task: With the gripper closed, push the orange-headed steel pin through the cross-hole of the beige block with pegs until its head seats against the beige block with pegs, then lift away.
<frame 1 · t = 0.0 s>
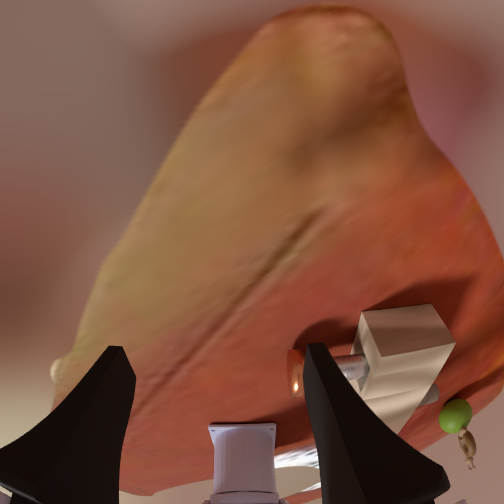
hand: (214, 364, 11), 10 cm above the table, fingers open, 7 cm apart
beige block with pegs: (376, 367, 28), on the table
snail figurine: (448, 402, 35), on the table
lynch pin: (365, 365, 24), point 2 cm above the table, slide at 0.0 cm
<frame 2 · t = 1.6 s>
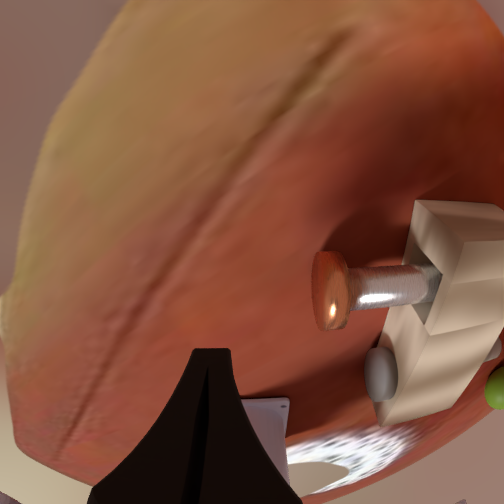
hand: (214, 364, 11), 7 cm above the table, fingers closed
beige block with pegs: (429, 304, 20), on the table
snail figurine: (493, 373, 27), on the table
lynch pin: (427, 282, 15), point 2 cm above the table, slide at 0.0 cm
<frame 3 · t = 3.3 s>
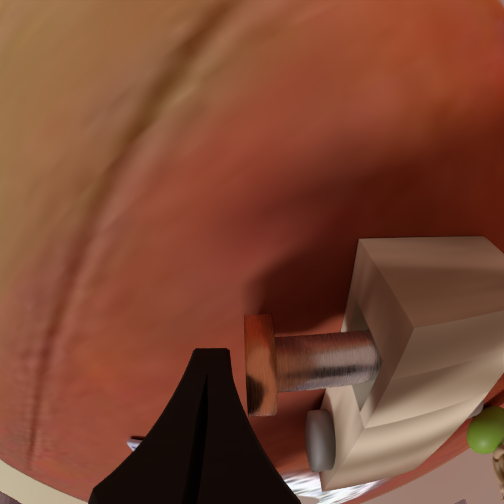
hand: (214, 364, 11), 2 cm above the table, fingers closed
beige block with pegs: (388, 361, 16), on the table
snail figurine: (479, 412, 23), on the table
lynch pin: (401, 350, 11), point 2 cm above the table, slide at 1.5 cm, touching gripper
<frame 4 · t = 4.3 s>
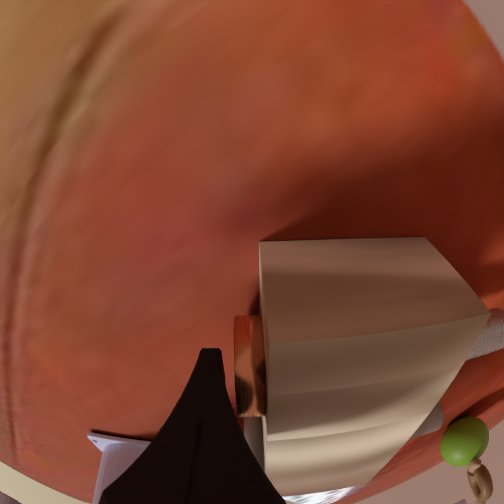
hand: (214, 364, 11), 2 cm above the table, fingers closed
beige block with pegs: (325, 370, 16), on the table
snail figurine: (455, 421, 23), on the table
lynch pin: (394, 351, 11), point 2 cm above the table, slide at 5.0 cm, touching beige block with pegs, gripper
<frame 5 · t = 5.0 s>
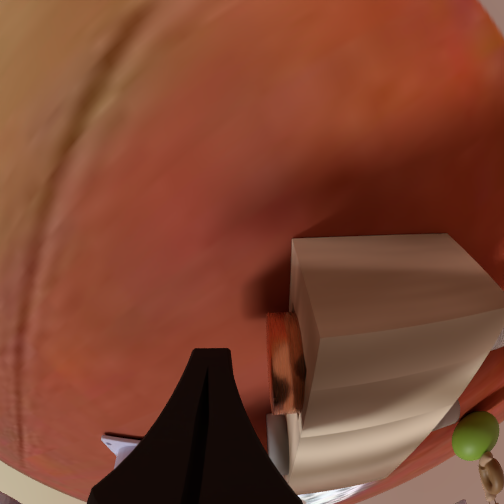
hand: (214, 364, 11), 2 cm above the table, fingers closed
beige block with pegs: (348, 366, 15), on the table
snail figurine: (466, 416, 23), on the table
lynch pin: (420, 345, 11), point 3 cm above the table, slide at 5.0 cm, touching beige block with pegs
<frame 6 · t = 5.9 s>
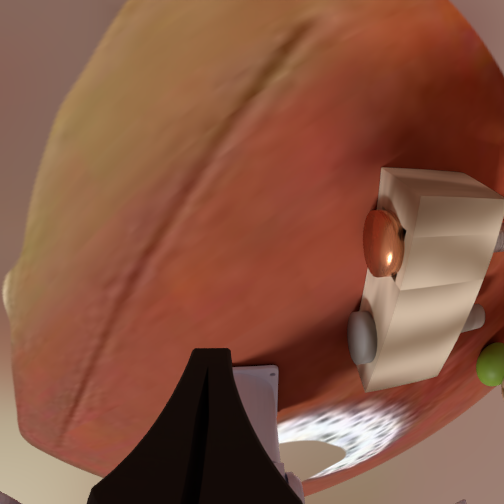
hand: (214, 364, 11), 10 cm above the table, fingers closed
beige block with pegs: (406, 270, 22), on the table
snail figurine: (485, 350, 29), on the table
lynch pin: (456, 239, 17), point 2 cm above the table, slide at 5.0 cm, touching beige block with pegs
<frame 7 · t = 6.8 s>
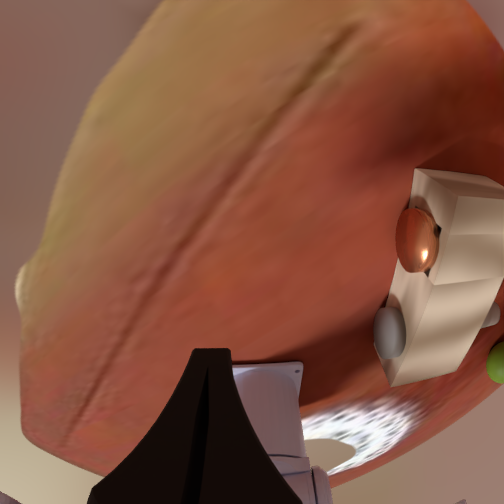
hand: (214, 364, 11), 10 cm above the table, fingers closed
beige block with pegs: (431, 268, 22), on the table
snail figurine: (494, 348, 29), on the table
lynch pin: (480, 238, 17), point 2 cm above the table, slide at 5.0 cm, touching beige block with pegs
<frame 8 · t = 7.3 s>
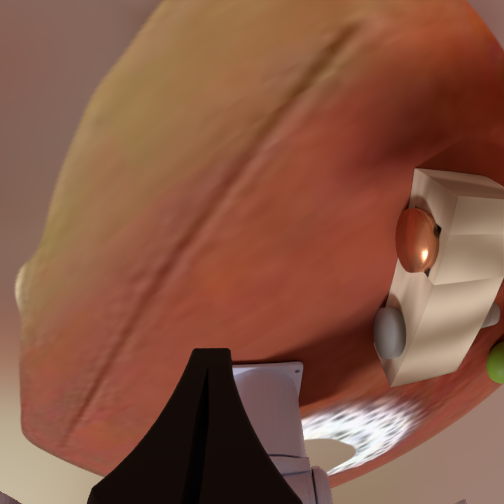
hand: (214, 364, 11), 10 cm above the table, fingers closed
beige block with pegs: (431, 268, 22), on the table
snail figurine: (494, 348, 29), on the table
lynch pin: (480, 238, 17), point 3 cm above the table, slide at 5.0 cm, touching beige block with pegs
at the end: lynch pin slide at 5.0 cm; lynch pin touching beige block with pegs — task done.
